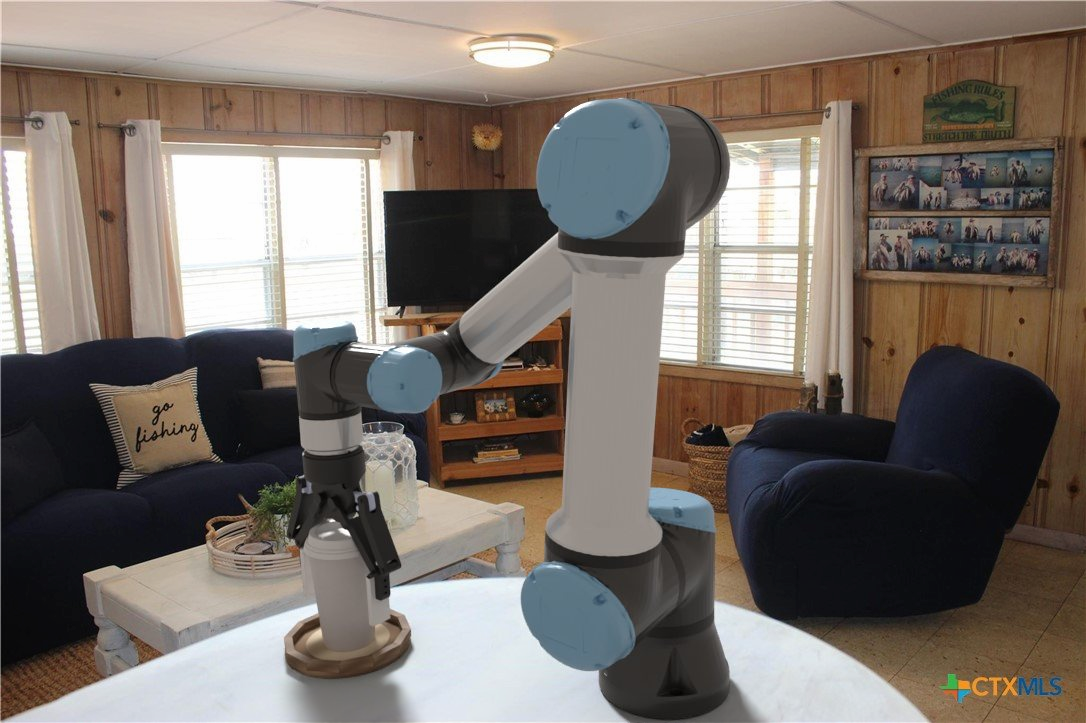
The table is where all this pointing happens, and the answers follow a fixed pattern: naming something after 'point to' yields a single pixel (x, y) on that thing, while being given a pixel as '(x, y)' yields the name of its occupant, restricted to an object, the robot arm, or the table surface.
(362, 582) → the coffee cup
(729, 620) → the table surface
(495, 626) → the table surface
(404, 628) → the polygonal wooden dish
